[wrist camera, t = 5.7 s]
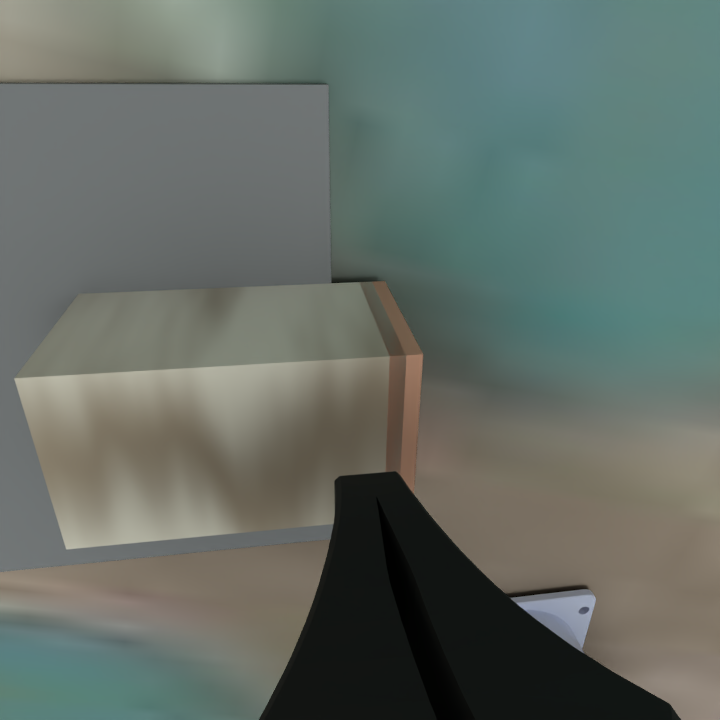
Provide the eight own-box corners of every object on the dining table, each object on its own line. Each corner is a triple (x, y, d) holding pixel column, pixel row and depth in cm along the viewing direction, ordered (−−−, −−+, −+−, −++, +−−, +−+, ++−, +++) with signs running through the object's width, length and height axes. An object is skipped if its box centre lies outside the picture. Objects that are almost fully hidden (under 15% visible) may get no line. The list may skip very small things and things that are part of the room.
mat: (333, 527, 23) (334, 538, 23) (-47, 564, 22) (-55, 577, 21) (326, 83, 16) (328, 85, 15) (-257, 82, 14) (-277, 82, 14)
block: (412, 516, 16) (66, 549, 15) (380, 416, 20) (110, 436, 19) (423, 354, 14) (14, 378, 13) (384, 281, 18) (78, 293, 17)
